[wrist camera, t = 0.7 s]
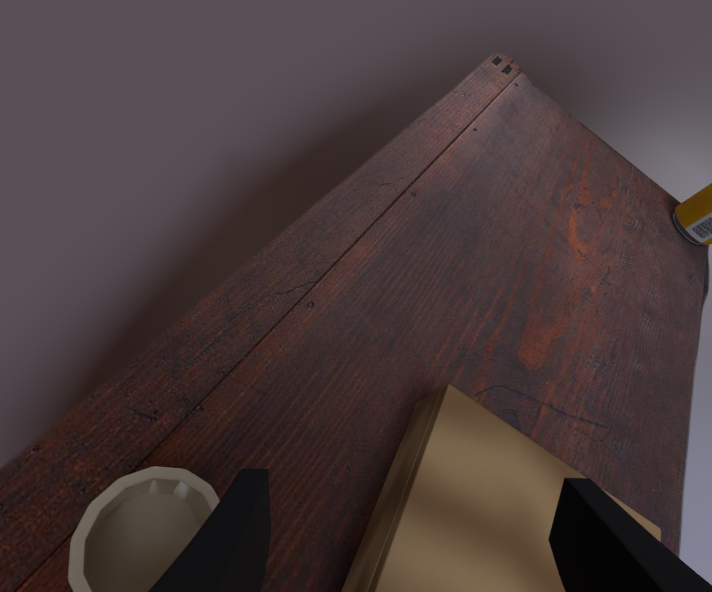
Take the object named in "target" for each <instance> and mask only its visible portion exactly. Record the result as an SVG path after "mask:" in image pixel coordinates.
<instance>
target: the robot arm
mask: <svg viewBox="0 0 712 592" xmlns="http://www.w3.org/2000/svg"><path fill="white" fill-rule="evenodd" d="M270 536H271V517H270V496H269V475H268V469H242V470H241V471H240V472H239V473H238V474H237V476H236V477H235V479H234V481H233V482H232V484H231V485H230V487H229V488H228V490H227V491H226V493H225V494H224V496H223V497H222V499H221V500H220V502H219V503H218V505H217V506H216V507H215V509H214V510H213V512H212V513H211V514H210V516H209V517H208V518H207V520H206V521H205V522H204V524H203V525H202V526H201V528H200V529H199V530H198V532H197V533H196V534H195V536H194V537H193V538H192V540H191V541H190V542H189V544H188V545H187V546H186V547H185V549H184V550H183V551H182V552H181V553H180V555H179V556H178V557H177V558H176V559H175V561H174V562H173V563H172V564H171V565H170V567H169V568H168V569H167V570H166V571H165V573H164V574H163V575H162V576H161V577H160V579H159V580H158V581H157V582H156V583H155V584H154V585H153V586H152V588H151V589H150V590H149V591H148V592H261V588H262V584H263V580H264V575H265V569H266V563H267V556H268V550H269V543H270ZM548 540H549V543H550V547H551V550H552V553H553V557H554V560H555V563H556V566H557V569H558V573H559V576H560V579H561V582H562V585H563V587H564V589H565V592H712V585H710V584H709V583H708V582H707V581H706V580H704V579H703V578H702V577H701V576H699V575H698V574H697V573H696V572H695V571H693V570H692V569H691V568H690V567H689V566H687V565H686V564H685V563H684V562H683V561H681V560H680V559H679V558H678V557H677V556H676V555H675V554H673V553H672V552H671V551H670V550H669V549H668V548H667V547H665V546H664V545H663V544H662V543H661V542H660V541H659V540H657V539H656V538H655V537H654V536H653V535H652V534H651V533H650V532H648V531H647V530H646V529H645V528H644V527H643V526H642V525H641V524H640V523H638V522H637V521H636V520H635V519H634V518H633V517H632V516H631V515H630V514H629V513H627V512H626V511H625V510H624V509H623V508H622V507H621V506H620V505H619V504H618V503H616V502H615V501H614V500H613V499H612V498H611V497H610V496H609V495H608V494H607V493H605V492H604V491H603V490H602V489H601V488H600V487H599V486H598V485H596V484H595V483H594V482H593V481H592V480H591V479H589V478H564V481H563V485H562V489H561V492H560V496H559V500H558V504H557V508H556V512H555V515H554V519H553V523H552V527H551V531H550V535H549V538H548Z"/></svg>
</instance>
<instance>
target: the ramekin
mask: <svg viewBox="0 0 712 592" xmlns="http://www.w3.org/2000/svg"><path fill="white" fill-rule="evenodd" d="M219 502H220V500H219V498H218V496H217V495H216V493H215V491H214V489H213V487H212V486H210V484H209V483H207V482H206V481H204V480H202V479H201V478H199V477H198V476H196V475H194V474H193V473H191V472H190V471H188V470H185V469H181V468H170V467H159V466H154V467H149V468H146V469H144V470H141V471H138V472H135V473H132V474H129V475H126V476H123V477H121V478H119V479H118V480H116V481H115V482H114V483H113V484H112V485H111V486H109V487H108V488H107V489H106V490H105V491H104V492H102V493H101V494H100V495H99V496H98V497H97V498H96V499H94V500H93V501H92V502H91V503H90V505H89V506H88V508H87V509H86V511H85V513H84V515H83V517H82V519H81V521H80V523H79V525H78V527H77V528H76V530H75V532H74V534H73V536H72V538H71V541H70V553H69V568H68V582H69V584H70V586H71V588H72V590H73V592H148V591H149V590H150V589H151V588H152V586H153V585H154V584H155V583H156V582H157V581H158V580H159V579H160V577H161V576H162V575H163V574H164V573H165V571H166V570H167V569H168V568H169V567H170V565H171V564H172V563H173V562H174V561H175V559H176V558H177V557H178V556H179V555H180V553H181V552H182V551H183V550H184V549H185V547H186V546H187V545H188V544H189V542H190V541H191V540H192V538H193V537H194V536H195V534H196V533H197V532H198V530H199V529H200V528H201V526H202V525H203V524H204V522H205V521H206V520H207V518H208V517H209V516H210V514H211V513H212V512H213V510H214V509H215V507H216V506H217V505H218V503H219Z"/></svg>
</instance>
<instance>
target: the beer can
mask: <svg viewBox="0 0 712 592" xmlns="http://www.w3.org/2000/svg"><path fill="white" fill-rule="evenodd" d="M673 221H674V223H675V225H676V227H677V229H678V230H679V231H680V233H681V234H682V235H683V236H684V237H685V238H686V239H688V240H689V241H690V242H692V243H694V244H696V245H701V244H705V245H710V244H712V183H711V184H710V185H708V186H707V187H705V188H704V189H702V190H701V191H699V192H698V193H696V194H695V195H693V196H692V197H690V198H689V199H687V200H686V201H684V202H683V203H681V204H680V205H678V206H677V207H676V210H675V213H674V214H673Z"/></svg>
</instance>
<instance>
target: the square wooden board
mask: <svg viewBox="0 0 712 592" xmlns="http://www.w3.org/2000/svg"><path fill="white" fill-rule="evenodd" d="M564 478H586V477H584V476H583V475H581V474H580V473H578V472H577V471H575V470H574V469H572V468H571V467H570V466H568V465H567V464H565V463H564V462H562V461H561V460H559V459H558V458H556V457H555V456H554V455H552V454H551V453H549V452H548V451H546V450H545V449H543V448H542V447H540V446H539V445H538V444H536V443H535V442H533V441H532V440H530V439H529V438H527V437H526V436H524V435H523V434H522V433H520V432H519V431H517V430H516V429H514V428H513V427H511V426H510V425H508V424H507V423H506V422H504V421H503V420H501V419H500V418H498V417H497V416H495V415H494V414H492V413H491V412H489V411H488V410H487V409H485V408H484V407H482V406H481V405H479V404H478V403H476V402H475V401H473V400H472V399H471V398H469V397H468V396H466V395H465V394H463V393H462V392H460V391H459V390H457V389H456V388H455V387H453V386H452V385H450V384H448V385H446V386H445V387H443V388H442V389H439V390H438V391H436V392H434V393H433V394H431V395H429V396H427V397H426V398H424V399H422V400H421V401H419V402H417V403H416V405H415V408H414V410H413V413H412V415H411V418H410V420H409V423H408V425H407V428H406V430H405V433H404V435H403V438H402V440H401V443H400V445H399V448H398V450H397V453H396V455H395V458H394V460H393V463H392V465H391V468H390V470H389V473H388V475H387V478H386V480H385V483H384V486H383V488H382V491H381V493H380V496H379V498H378V501H377V503H376V506H375V508H374V511H373V513H372V516H371V518H370V521H369V523H368V526H367V528H366V531H365V533H364V536H363V538H362V541H361V543H360V546H359V548H358V551H357V553H356V556H355V558H354V561H353V563H352V566H351V568H350V571H349V573H348V576H347V578H346V581H345V583H344V586H343V588H342V591H341V592H565V589H564V587H563V585H562V582H561V579H560V576H559V573H558V569H557V566H556V563H555V560H554V557H553V553H552V550H551V547H550V543H549V540H548V538H549V535H550V531H551V527H552V523H553V519H554V515H555V512H556V508H557V504H558V500H559V496H560V492H561V489H562V485H563V481H564ZM601 489H602V488H601ZM602 490H603V489H602ZM603 491H604V492H605V493H607V492H606V491H605V490H603ZM607 494H608V495H609V496H610V497H611V498H612V499H613V500H614V501H615V502H616V503H618V504H619V505H620V506H621V507H622V508H623V509H624V510H625V511H626V512H627V513H629V514H630V515H631V516H632V517H633V518H634V519H635V520H636V521H637V522H638V523H640V524H641V525H642V526H643V527H644V528H645V529H646V530H647V531H648V532H650V533H651V534H652V535H653V536H654V537H655V538H656V539H657V540H659V541H660V542H661V530H660V528H658V527H657V526H655V525H654V524H653V523H651V522H650V521H648V520H647V519H645V518H644V517H642V516H641V515H639V514H638V513H637V512H635V511H634V510H632V509H631V508H629V507H628V506H626V505H625V504H623V503H622V502H621V501H619V500H618V499H616V498H615V497H613V496H612V495H610V494H609V493H607Z"/></svg>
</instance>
